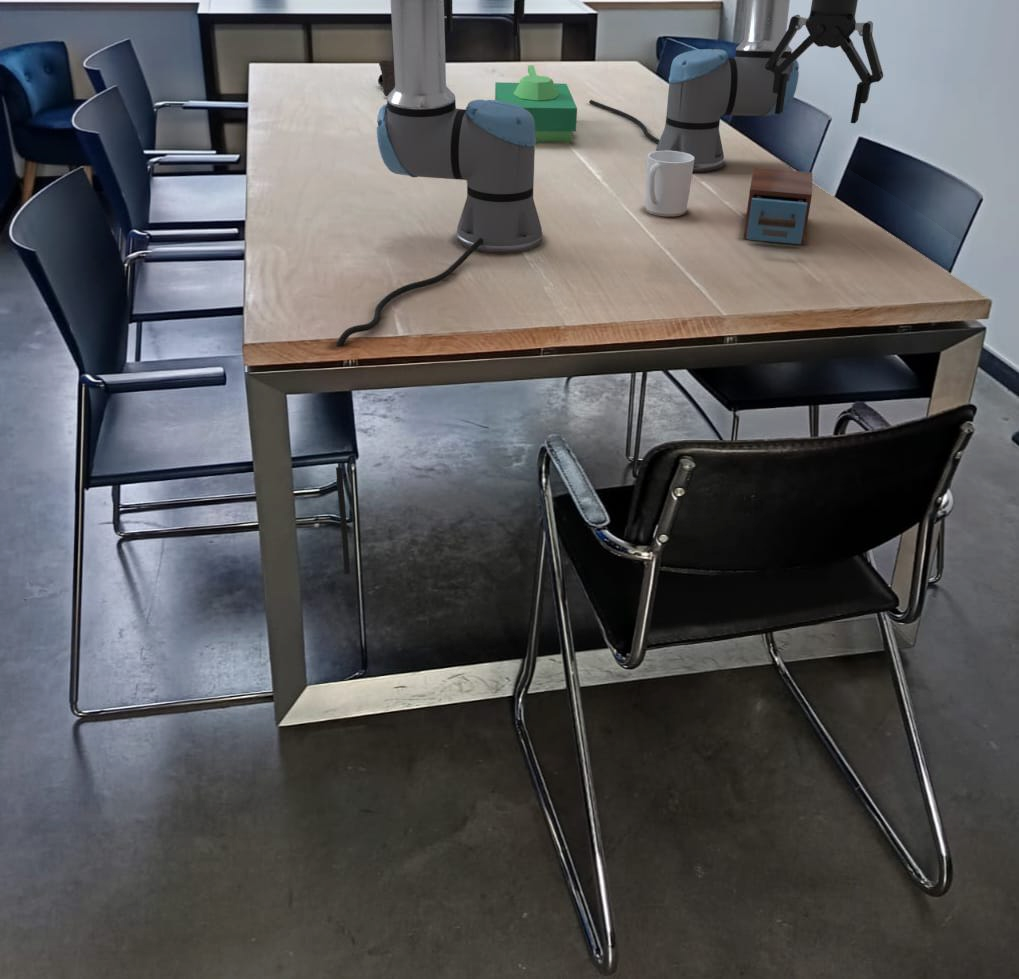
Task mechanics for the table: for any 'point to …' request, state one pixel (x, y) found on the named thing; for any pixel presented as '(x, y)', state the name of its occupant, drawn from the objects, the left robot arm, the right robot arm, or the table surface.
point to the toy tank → (542, 105)
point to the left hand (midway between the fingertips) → (482, 33)
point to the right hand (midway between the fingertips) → (815, 117)
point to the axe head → (387, 76)
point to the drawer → (777, 219)
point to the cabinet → (780, 188)
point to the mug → (668, 182)
